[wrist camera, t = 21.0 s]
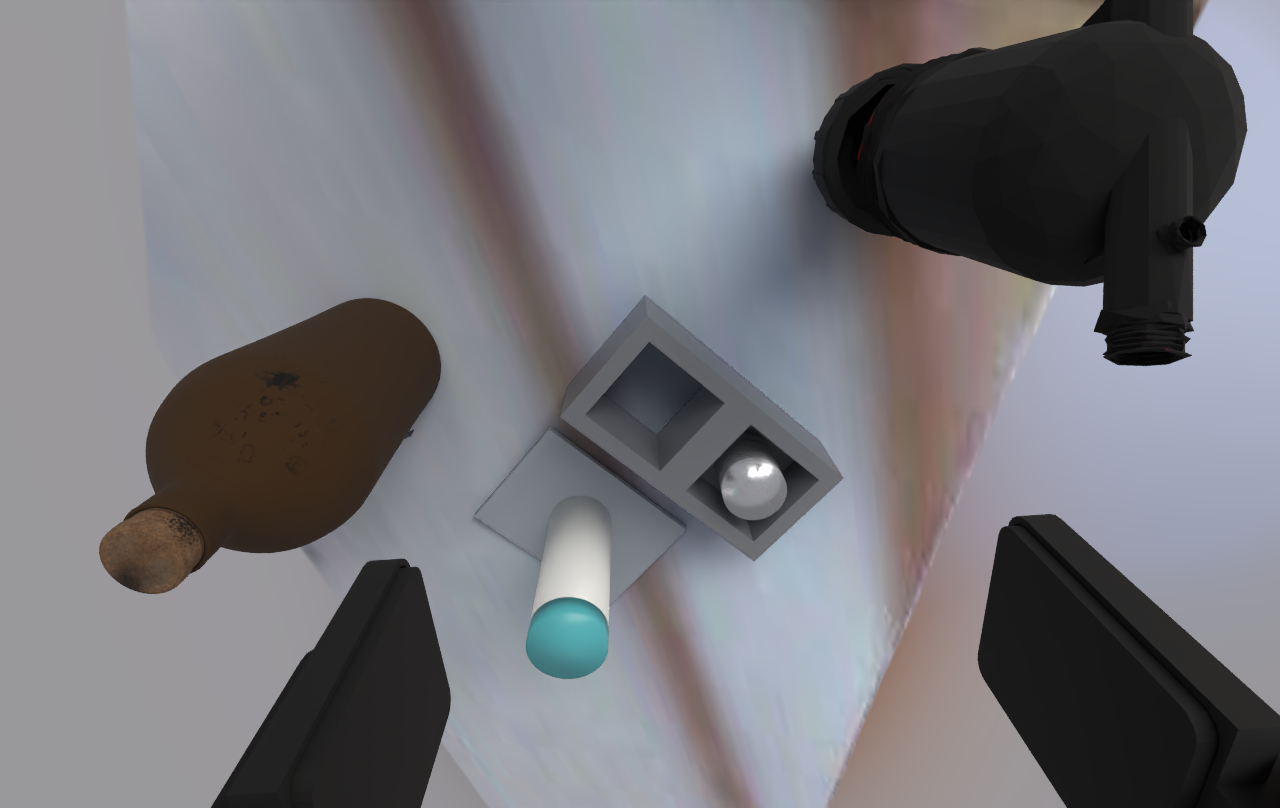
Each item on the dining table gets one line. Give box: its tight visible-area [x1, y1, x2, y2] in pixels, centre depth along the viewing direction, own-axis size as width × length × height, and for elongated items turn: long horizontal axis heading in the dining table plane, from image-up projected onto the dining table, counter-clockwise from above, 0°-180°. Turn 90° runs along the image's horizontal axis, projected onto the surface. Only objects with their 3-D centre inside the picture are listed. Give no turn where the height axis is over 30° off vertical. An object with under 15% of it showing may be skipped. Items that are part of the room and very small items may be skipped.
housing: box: [560, 295, 843, 561], centre depth 47 cm, size 18×9×6 cm, turn 50°
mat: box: [474, 426, 686, 606], centre depth 53 cm, size 14×10×1 cm
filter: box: [812, 0, 1247, 366], centre depth 29 cm, size 14×9×30 cm
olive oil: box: [99, 298, 441, 594], centre depth 36 cm, size 11×11×25 cm
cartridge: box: [526, 496, 612, 679], centre depth 46 cm, size 5×5×14 cm
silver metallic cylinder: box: [714, 433, 787, 520], centre depth 47 cm, size 4×4×5 cm
